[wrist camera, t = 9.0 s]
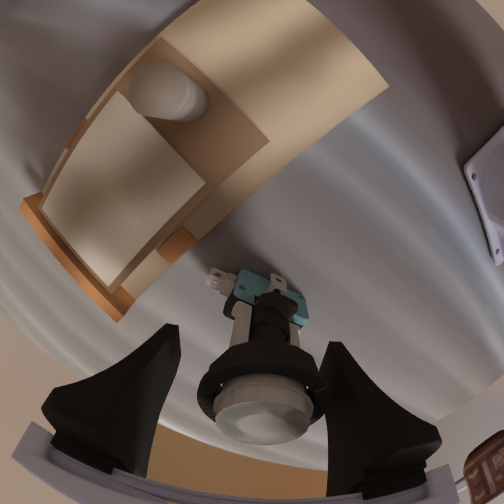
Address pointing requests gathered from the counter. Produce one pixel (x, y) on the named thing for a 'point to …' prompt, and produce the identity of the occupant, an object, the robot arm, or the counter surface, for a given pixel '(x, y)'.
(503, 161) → the robot arm
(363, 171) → the counter surface
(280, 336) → the push button
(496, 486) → the pottery
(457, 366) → the counter surface
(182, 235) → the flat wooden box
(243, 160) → the carriage
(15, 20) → the counter surface
